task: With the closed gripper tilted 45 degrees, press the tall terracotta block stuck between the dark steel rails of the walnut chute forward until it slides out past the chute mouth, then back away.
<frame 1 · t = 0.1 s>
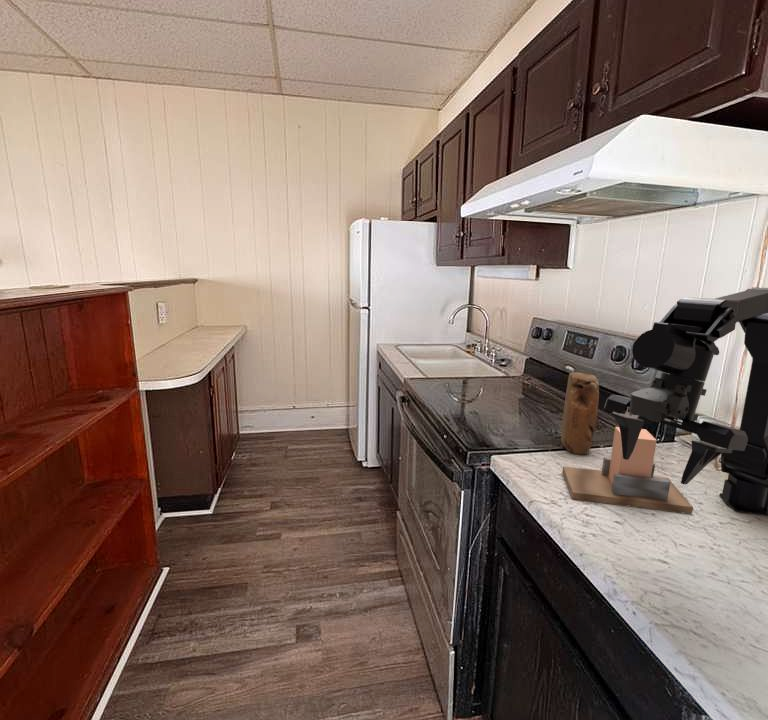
hand: (653, 470, 67), 15 cm above the worktop, tool pointing down, fingers open, 9 cm apart
stuck block: (631, 459, 89), point 8 cm above the worktop, slide at 0.0 cm
chute: (621, 491, 91), on the worktop
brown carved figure: (575, 448, 113), on the worktop
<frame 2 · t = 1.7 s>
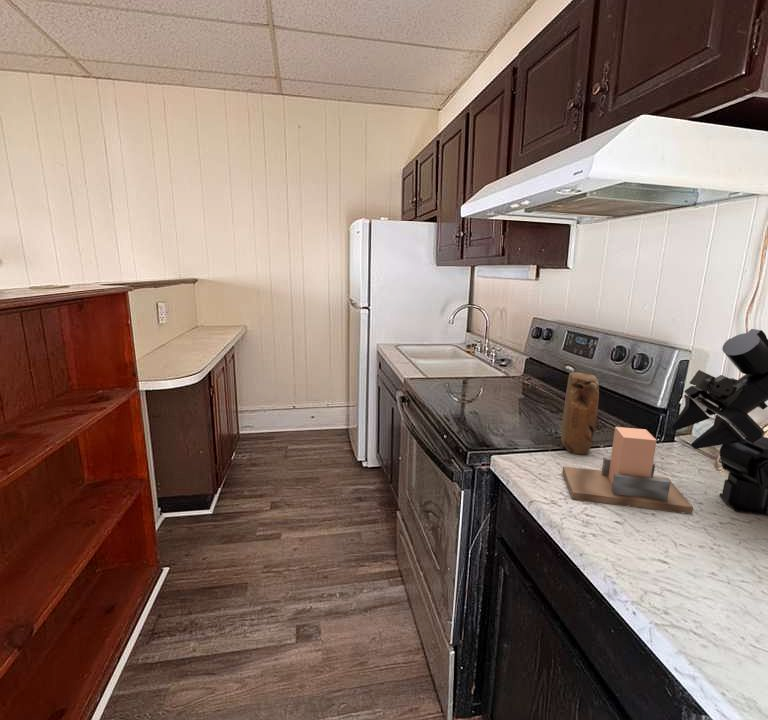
hand: (681, 437, 86), 14 cm above the worktop, tool tilted 45°, fingers open, 9 cm apart
nothing on the worktop moved.
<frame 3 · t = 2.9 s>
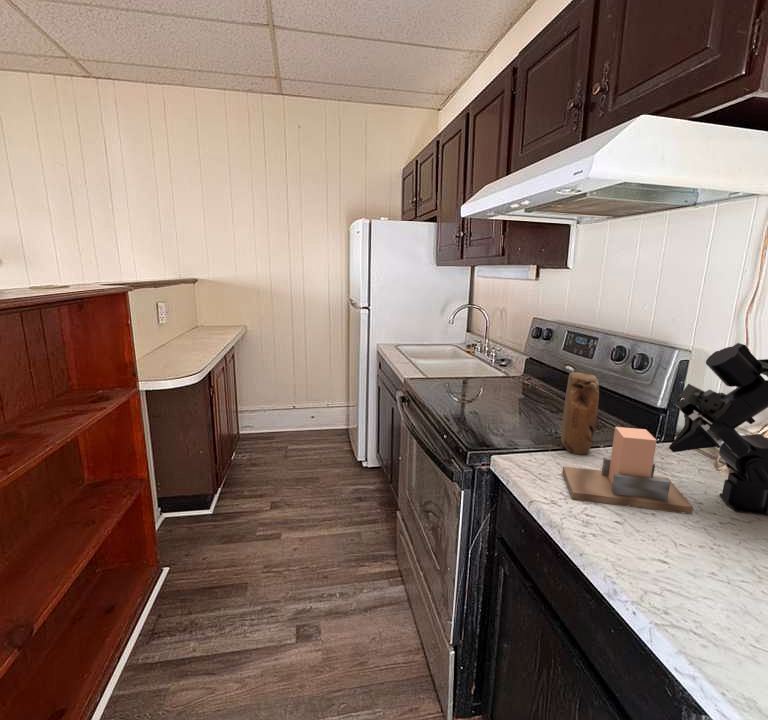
hand: (670, 449, 87), 11 cm above the worktop, tool tilted 45°, fingers closed
nothing on the worktop moved.
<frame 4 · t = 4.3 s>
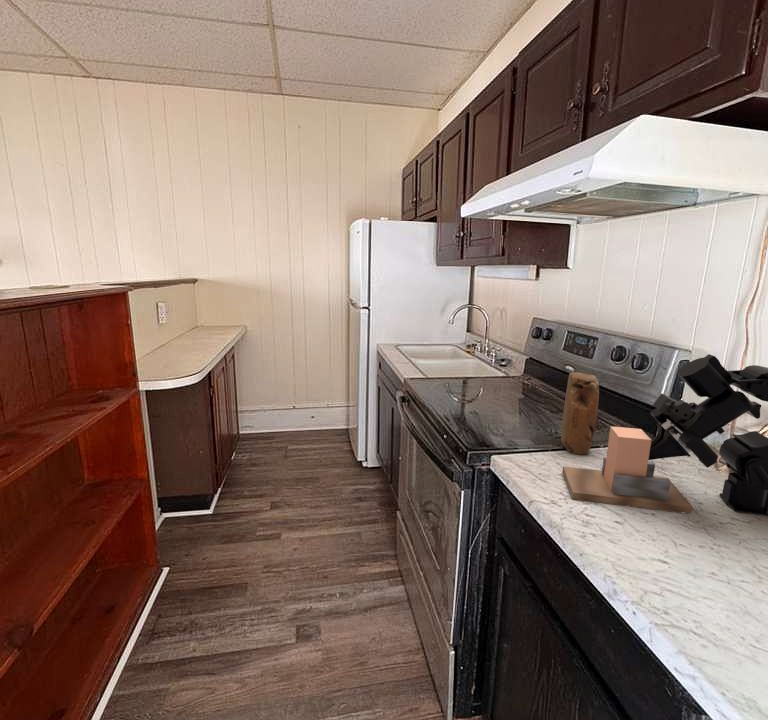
hand: (643, 457, 89), 8 cm above the worktop, tool tilted 45°, fingers closed, pressing on stuck block
stuck block: (626, 459, 89), point 8 cm above the worktop, slide at 0.9 cm, touching gripper
everything else where it was.
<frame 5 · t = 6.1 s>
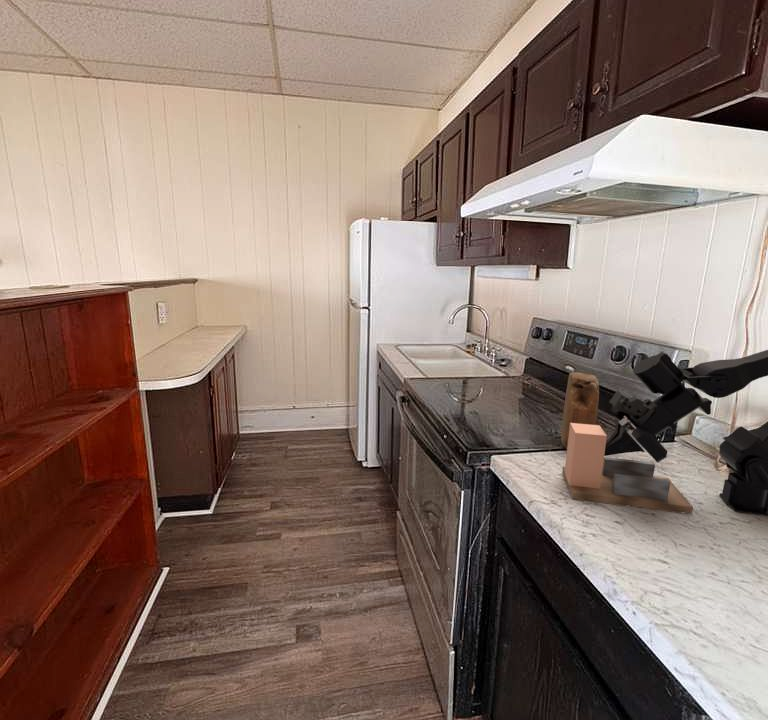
hand: (601, 453, 90), 8 cm above the worktop, tool tilted 45°, fingers closed, pressing on stuck block
stuck block: (584, 455, 91), point 8 cm above the worktop, slide at 9.2 cm, touching gripper
everything else where it was.
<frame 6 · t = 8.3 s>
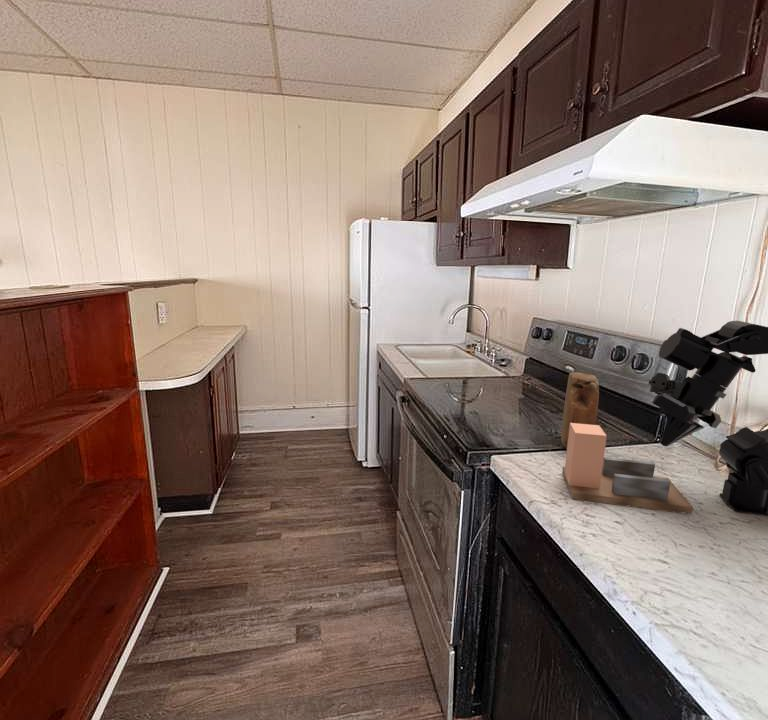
hand: (663, 445, 87), 11 cm above the worktop, tool tilted 25°, fingers closed
stuck block: (584, 454, 91), point 8 cm above the worktop, slide at 9.2 cm
everything else where it was.
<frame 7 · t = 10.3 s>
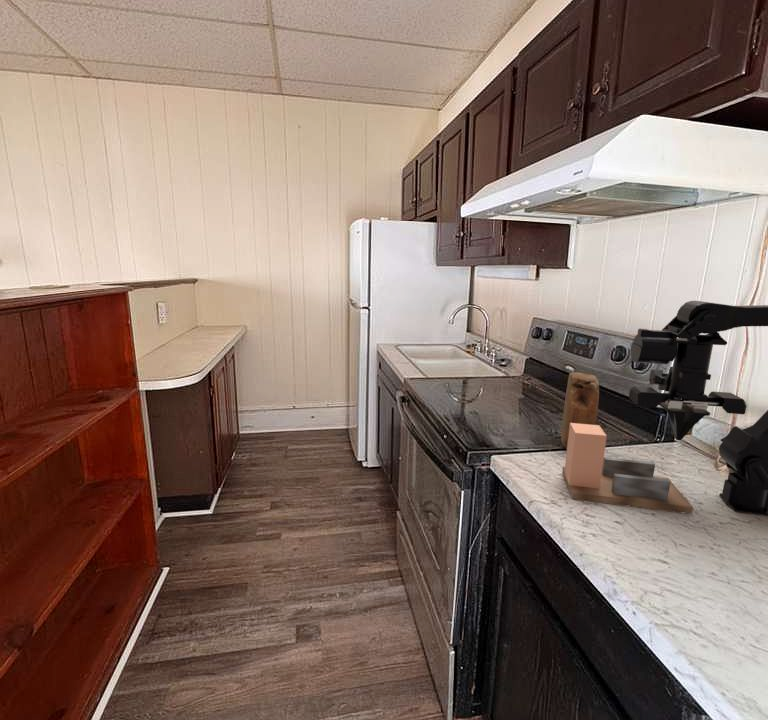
hand: (677, 439, 86), 13 cm above the worktop, tool pointing down, fingers closed
nothing on the worktop moved.
at the end: stuck block slide at 9.2 cm; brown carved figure moved 0.2 cm from its start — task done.
